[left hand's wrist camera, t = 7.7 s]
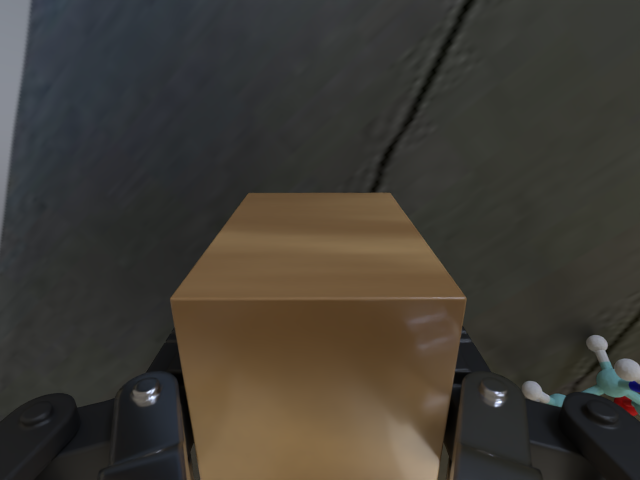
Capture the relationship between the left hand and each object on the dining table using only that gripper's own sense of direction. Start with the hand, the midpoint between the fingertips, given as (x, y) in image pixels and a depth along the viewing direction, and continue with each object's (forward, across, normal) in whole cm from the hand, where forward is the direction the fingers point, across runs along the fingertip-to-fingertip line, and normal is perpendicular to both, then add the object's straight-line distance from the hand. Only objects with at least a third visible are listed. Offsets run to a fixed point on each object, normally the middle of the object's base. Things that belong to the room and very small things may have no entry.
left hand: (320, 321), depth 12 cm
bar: (+4, 0, -10) cm, 11 cm away
